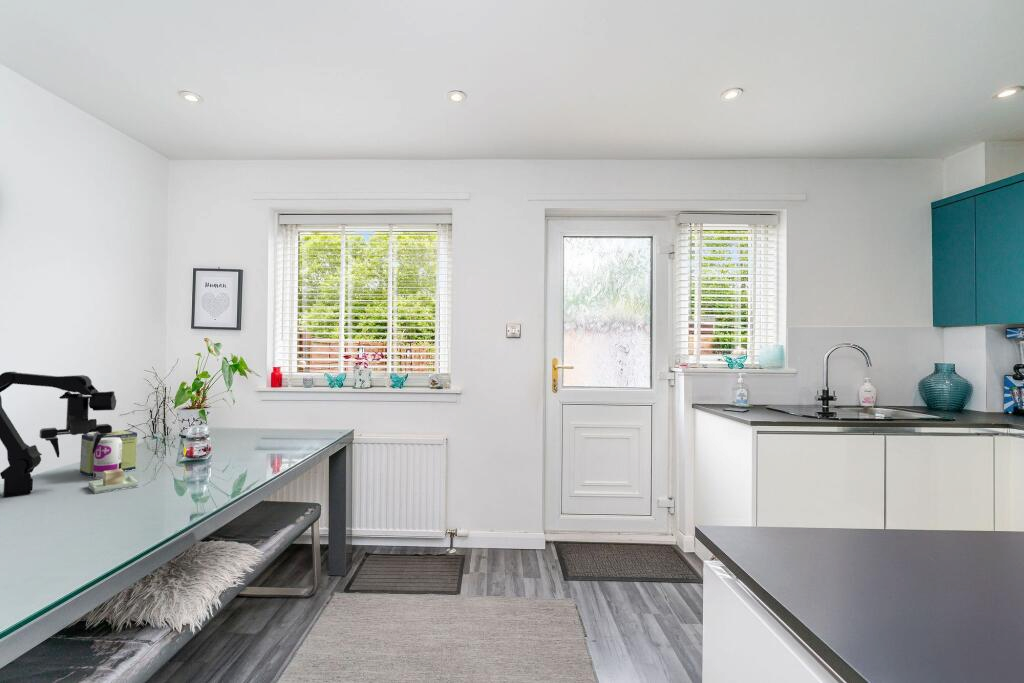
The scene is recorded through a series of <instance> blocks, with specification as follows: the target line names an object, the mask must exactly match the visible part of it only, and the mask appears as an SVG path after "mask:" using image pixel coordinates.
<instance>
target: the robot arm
mask: <svg viewBox="0 0 1024 683" xmlns="http://www.w3.org/2000/svg"><path fill="white" fill-rule="evenodd" d="M12 385H22V386H23V385H25V386H34V387H35V386H36V387H37V386H38V387H49V388H55V389H58V390H62V391H65V392H64V394H62V395H60V396H59V399H60V400H63V399H64V400H65V399H66V400H67V402H66V403H67V404H66V407H67V408H66V419H65V420H66V424H65V428H64V429H63V428H61V429H57V428H56V427H43V428H41V429H40V430H39V435H38V436H39V438H40V439H43V440H45V441H48V442H50V444H51V445H52V447H53V450H54V452H55V454H56V457H57V458H60V448H59V438H58V437H57V436H61V435H72V436H77V435H83V434H90V433H94V438H93V444H92V454H94V452H95V450H96V448H97V445H98V443H99V441H100V440H101V438H102V437H103V436H106V435H107V434H106V433H112V432H113V427H112V425H110V424H109V423H103V424H101V423H99V424H98V422H97V418H89V409H92V411H96V412H97V411H114V410H115V409H116V407H117V399H116V396H115V391H112V390H111V391H99V390H98V389H97V388H96V387H95V386H94V385H93V384H92V379H91V378H90V377H89V376H87V375H84V374H82V375H81V374H80V375H62V376H59V375H58V376H57V375H45V374H35V373H26V372H25V373H23V372H17V371H5V372H2V373H1V374H0V393H2V392H3V391H5V390H7V389H8V388H10V387H11V386H12ZM2 402H3V401H2V396H1V394H0V442H1V443H2V445H3V446H4V447H5V449H6V453H7V455H6V456H7V457H6V458H7V462H8V465H9V466H8V467H6V468H5V469H3V470H2V471H0V477H1V479H2V480H3V492H2V496H3V498H8V497H17V496H22V495H30V494H32V491H33V489H34V487H33V486H34V484H33V482H34V478H33V477H32V474H31V473H32V472H33V471H34V469H35V468H37V467H38V466H39V465H40V464H41V462H42V457H41V456H42V453H41V452H40V451H39V450H38V447H37V445H36V444H33V445H31V446H30V445H28V444H26V442H24V440H23V438H22V437H21V435H20V433H19V432H18V430H17V429H16V427H15V425H14V424H13V423H12V421H11V418H10V417H9V416H8V415H7V413H6V411H5V410H4V408H3V406H2V404H3V403H2Z"/></svg>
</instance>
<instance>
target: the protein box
mask: <svg viewBox="0 0 1024 683" xmlns="http://www.w3.org/2000/svg"><path fill="white" fill-rule="evenodd" d="M94 433H95V432H92V433H88V434H81V439H80V440H81V441H80V463H79V464H80V465H79V474H80V473H82V474H81V475H83V474H84V475H83V476H86V475H87V476H86V477H88V476H89V477H88V478H91V477H90V476H93V470H94V454H92V444H93V438H94ZM106 434H107V435H106V436H103V437H102V438H106V437H120V439H121V440H122V458H121V469H122V470H123V471H125V470H132V469H137V468H136V467H137V464H136V463H137V448H138V447H137V446H138V445H137V443H138V432H135V431H132V430H128V429H122V430H112V433H106Z"/></svg>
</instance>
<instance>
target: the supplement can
mask: <svg viewBox="0 0 1024 683" xmlns="http://www.w3.org/2000/svg"><path fill="white" fill-rule="evenodd" d="M121 458H122V440H121V439H120V437H106V438H101V440H100V441H99V443H98V445H97V448H96V450H95V452H94V470H93V477H92V478H93V479H95V480H97V479H103V472H104V471H107V470H115V469H121Z"/></svg>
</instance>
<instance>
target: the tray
mask: <svg viewBox="0 0 1024 683" xmlns="http://www.w3.org/2000/svg"><path fill="white" fill-rule="evenodd" d="M138 484H139V481H138V480H137V479H135V477H133V476H132V475H126V476H124V483H123V484H116V485H109V486H104V485H103V480H97V479H95V480H91V481H90V480H89V481H88V488H89V487H90V488H91V489H92V490H91V489H90V488H89V489H90V490H91V492H92V493H93V492H94V493H97V494H100V493H99V492H104V491H109V490H116V489H122V488H129V487H136V486H138ZM138 487H139V486H138ZM136 488H137V487H136ZM94 493H93V494H94ZM104 493H105V492H104Z"/></svg>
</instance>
